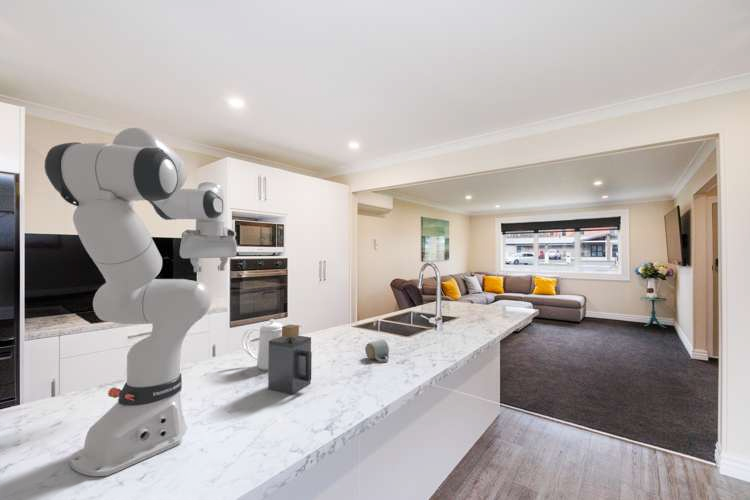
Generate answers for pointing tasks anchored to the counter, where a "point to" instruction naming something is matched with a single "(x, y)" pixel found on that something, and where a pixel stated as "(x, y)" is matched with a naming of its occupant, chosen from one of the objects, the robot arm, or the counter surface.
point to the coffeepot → (265, 342)
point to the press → (289, 364)
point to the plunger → (290, 331)
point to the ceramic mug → (377, 350)
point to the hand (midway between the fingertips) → (209, 271)
